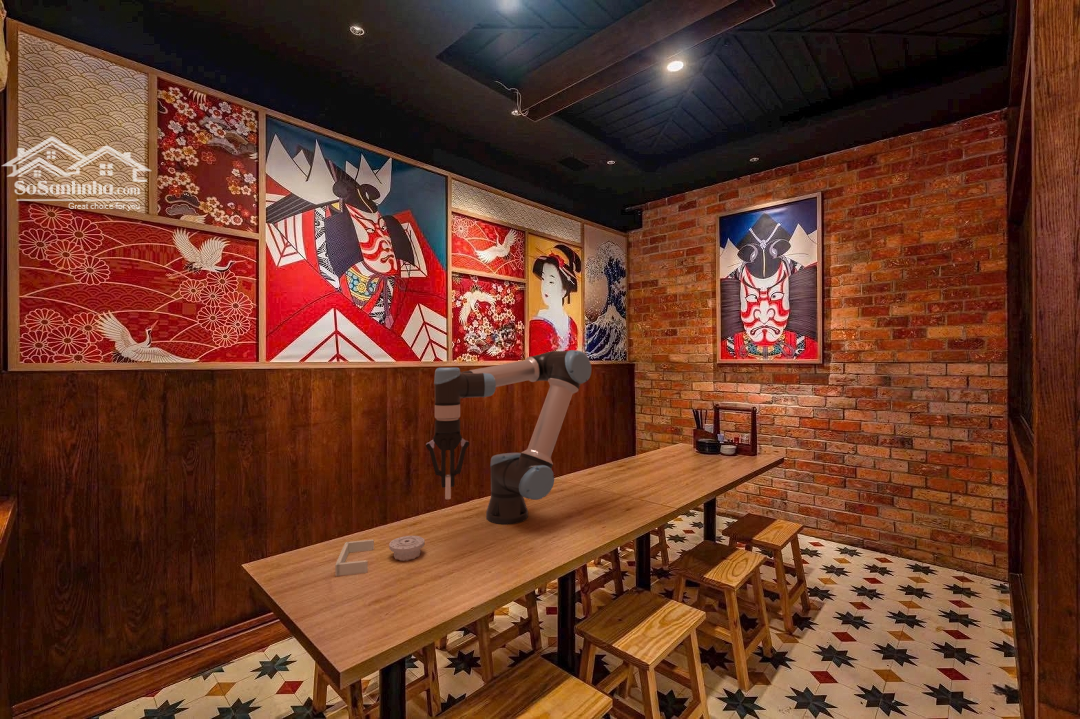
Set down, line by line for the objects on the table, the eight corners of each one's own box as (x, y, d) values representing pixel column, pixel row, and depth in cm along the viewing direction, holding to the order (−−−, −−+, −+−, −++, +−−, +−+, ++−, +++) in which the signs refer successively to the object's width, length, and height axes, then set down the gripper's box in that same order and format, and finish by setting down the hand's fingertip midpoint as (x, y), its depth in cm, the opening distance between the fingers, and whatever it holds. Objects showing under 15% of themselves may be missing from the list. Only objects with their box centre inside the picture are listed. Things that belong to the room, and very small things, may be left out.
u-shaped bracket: (373, 549, 139) (373, 539, 139) (367, 572, 124) (367, 561, 124) (345, 552, 137) (345, 542, 137) (335, 576, 122) (335, 565, 122)
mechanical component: (395, 534, 139) (427, 534, 139) (395, 549, 139) (428, 548, 139) (384, 548, 129) (420, 547, 129) (384, 563, 129) (420, 563, 129)
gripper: (468, 416, 142) (468, 492, 142) (425, 418, 139) (425, 496, 139) (470, 419, 135) (471, 499, 135) (425, 421, 132) (425, 503, 132)
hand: (447, 497), depth 137 cm, fingers closed
